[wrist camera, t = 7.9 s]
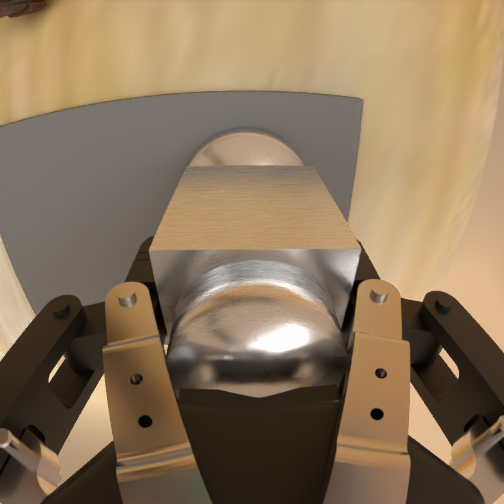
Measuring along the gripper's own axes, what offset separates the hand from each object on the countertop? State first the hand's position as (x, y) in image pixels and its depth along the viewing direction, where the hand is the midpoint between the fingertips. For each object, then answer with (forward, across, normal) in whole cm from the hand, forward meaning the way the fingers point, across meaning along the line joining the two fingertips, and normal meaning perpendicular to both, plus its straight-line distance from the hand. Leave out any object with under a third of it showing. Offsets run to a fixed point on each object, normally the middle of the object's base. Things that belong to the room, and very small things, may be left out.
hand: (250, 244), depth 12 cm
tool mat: (+7, +6, +4) cm, 10 cm away
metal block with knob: (+2, 0, 0) cm, 2 cm away
